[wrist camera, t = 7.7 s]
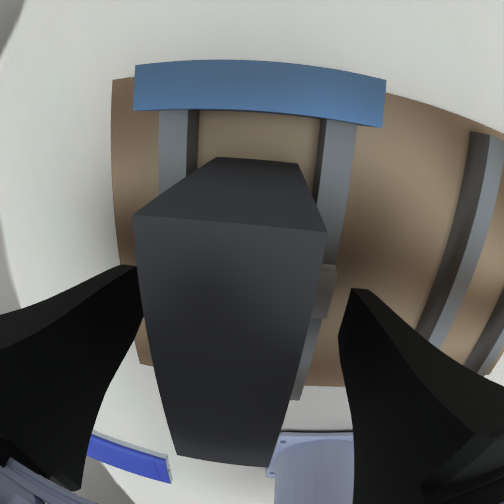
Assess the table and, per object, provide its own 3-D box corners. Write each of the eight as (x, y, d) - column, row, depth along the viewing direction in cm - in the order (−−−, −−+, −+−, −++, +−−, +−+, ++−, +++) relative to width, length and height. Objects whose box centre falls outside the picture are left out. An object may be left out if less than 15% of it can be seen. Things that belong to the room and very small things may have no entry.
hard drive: (79, 453, 26) (170, 485, 26) (57, 422, 22) (164, 462, 22) (83, 444, 27) (173, 475, 27) (63, 412, 24) (168, 450, 24)
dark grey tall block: (274, 334, 14) (268, 467, 8) (213, 327, 14) (177, 455, 8) (297, 163, 11) (328, 232, 4) (216, 156, 11) (132, 214, 4)
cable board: (484, 367, 16) (501, 398, 13) (144, 354, 17) (125, 394, 14) (561, 168, 9) (597, 184, 6) (121, 81, 10) (77, 75, 7)
